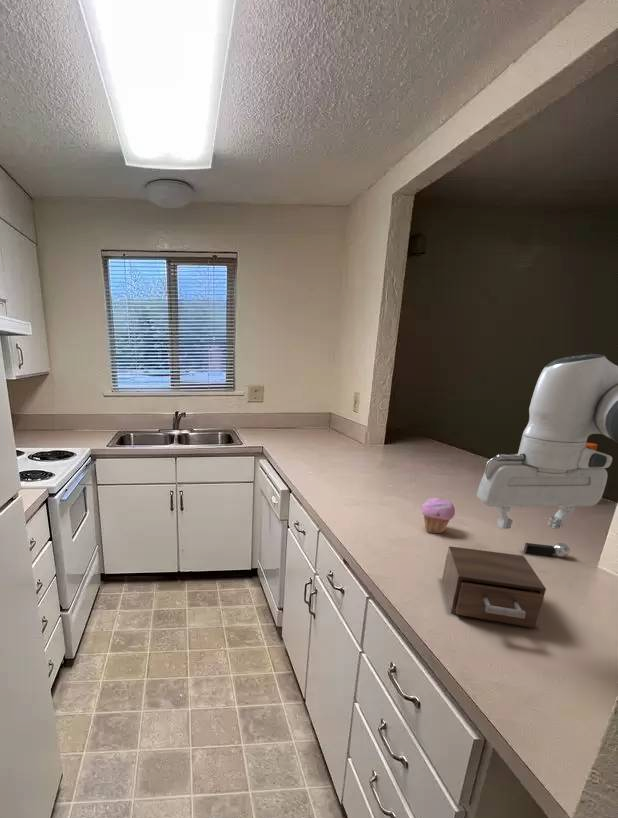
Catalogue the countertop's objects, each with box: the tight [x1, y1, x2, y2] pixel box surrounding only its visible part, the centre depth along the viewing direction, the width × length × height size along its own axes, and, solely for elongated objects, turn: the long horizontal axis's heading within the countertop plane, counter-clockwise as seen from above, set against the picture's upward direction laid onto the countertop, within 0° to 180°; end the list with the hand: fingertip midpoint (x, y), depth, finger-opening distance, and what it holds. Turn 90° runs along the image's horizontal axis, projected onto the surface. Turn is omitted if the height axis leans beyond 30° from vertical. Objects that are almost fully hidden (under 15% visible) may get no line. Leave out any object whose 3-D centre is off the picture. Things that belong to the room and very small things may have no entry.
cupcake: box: [421, 497, 456, 534], centre depth 126 cm, size 9×9×10 cm
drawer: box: [455, 580, 545, 629], centre depth 87 cm, size 18×13×7 cm
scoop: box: [523, 542, 571, 558], centre depth 112 cm, size 4×9×4 cm, turn 70°
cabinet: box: [441, 545, 547, 615], centre depth 91 cm, size 15×15×9 cm
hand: (528, 527), depth 80 cm, fingers open, 8 cm apart
